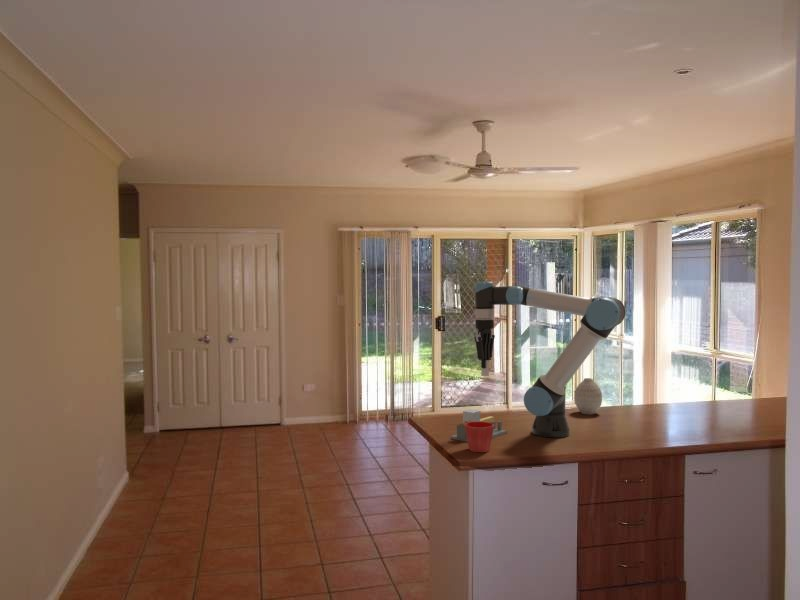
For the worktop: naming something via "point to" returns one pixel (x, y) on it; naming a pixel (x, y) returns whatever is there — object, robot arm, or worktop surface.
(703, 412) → the worktop surface
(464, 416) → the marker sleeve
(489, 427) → the flower pot
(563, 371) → the robot arm
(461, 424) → the cable comb
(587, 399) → the vase
